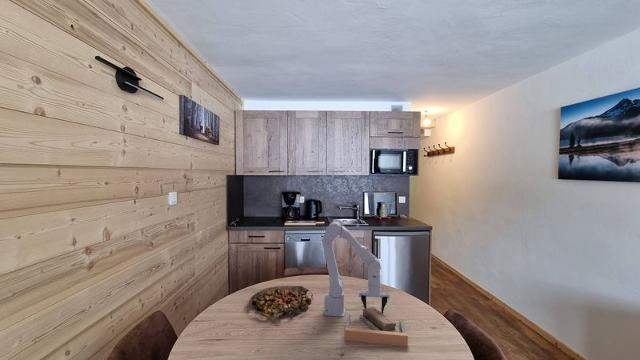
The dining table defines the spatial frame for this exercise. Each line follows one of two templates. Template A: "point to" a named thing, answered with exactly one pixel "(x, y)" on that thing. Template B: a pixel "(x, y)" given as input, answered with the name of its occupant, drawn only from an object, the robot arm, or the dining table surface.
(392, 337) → the channel
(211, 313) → the dining table surface
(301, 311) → the food dish
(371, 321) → the packaged product
